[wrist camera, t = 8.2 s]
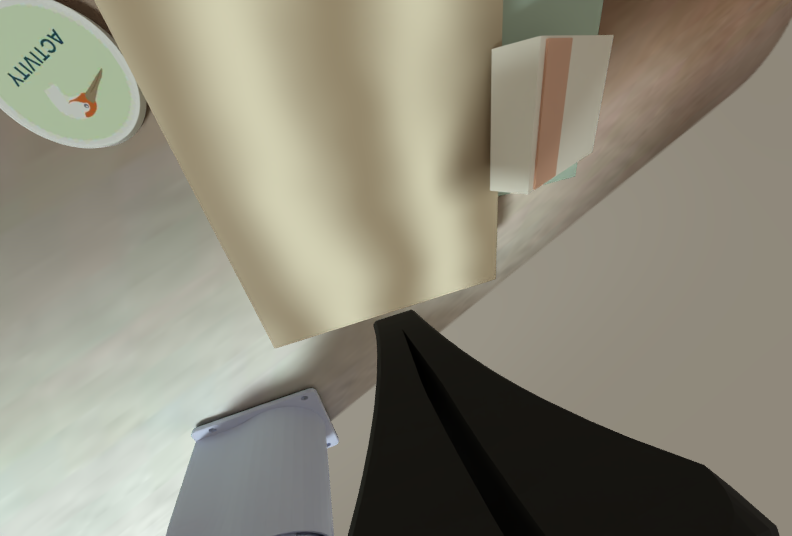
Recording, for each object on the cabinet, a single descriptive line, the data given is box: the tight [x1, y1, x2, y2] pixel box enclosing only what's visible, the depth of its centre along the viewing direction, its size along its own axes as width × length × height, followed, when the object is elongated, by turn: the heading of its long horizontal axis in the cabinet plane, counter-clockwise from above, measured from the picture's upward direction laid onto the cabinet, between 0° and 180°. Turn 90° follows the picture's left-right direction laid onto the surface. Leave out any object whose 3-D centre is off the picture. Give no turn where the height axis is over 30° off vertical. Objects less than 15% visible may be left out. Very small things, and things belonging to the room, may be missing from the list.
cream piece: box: [94, 0, 503, 348], centre depth 15 cm, size 14×15×4 cm
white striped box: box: [490, 35, 614, 194], centre depth 15 cm, size 9×6×2 cm, turn 97°
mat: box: [498, 0, 603, 196], centre depth 17 cm, size 9×12×1 cm
